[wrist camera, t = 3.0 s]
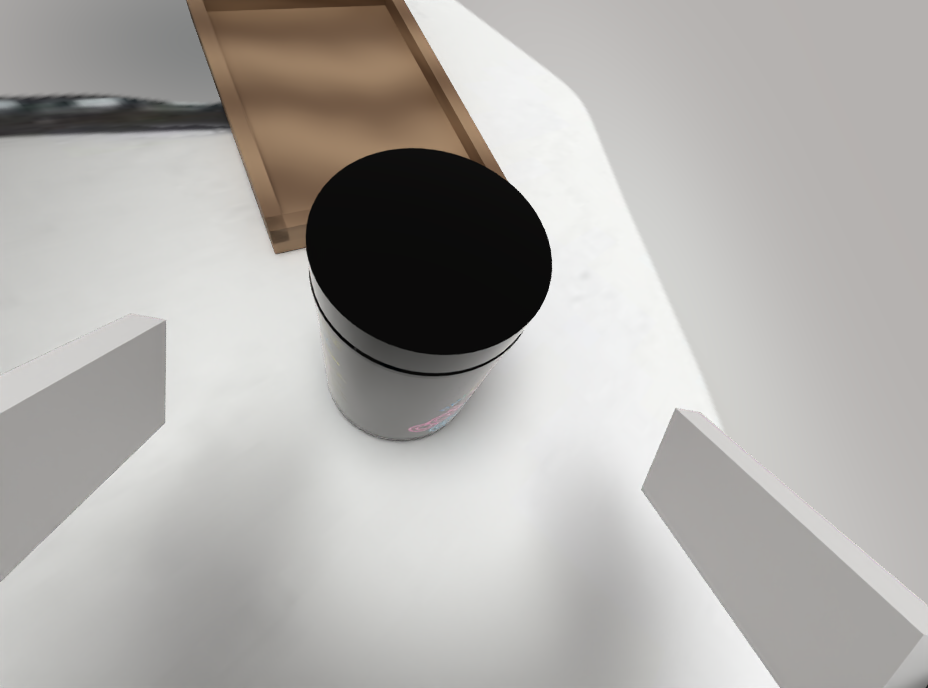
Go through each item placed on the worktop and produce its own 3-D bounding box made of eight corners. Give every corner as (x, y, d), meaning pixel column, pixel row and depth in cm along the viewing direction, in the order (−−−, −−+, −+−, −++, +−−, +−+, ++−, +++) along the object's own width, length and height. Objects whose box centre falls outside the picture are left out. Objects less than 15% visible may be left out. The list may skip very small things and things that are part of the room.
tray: (191, 17, 28) (181, -15, 26) (391, 9, 32) (393, -19, 31) (275, 253, 23) (269, 231, 21) (499, 204, 27) (508, 182, 26)
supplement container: (379, 476, 19) (404, 409, 10) (296, 354, 21) (252, 196, 12) (496, 392, 22) (598, 280, 13) (416, 289, 24) (457, 120, 14)
